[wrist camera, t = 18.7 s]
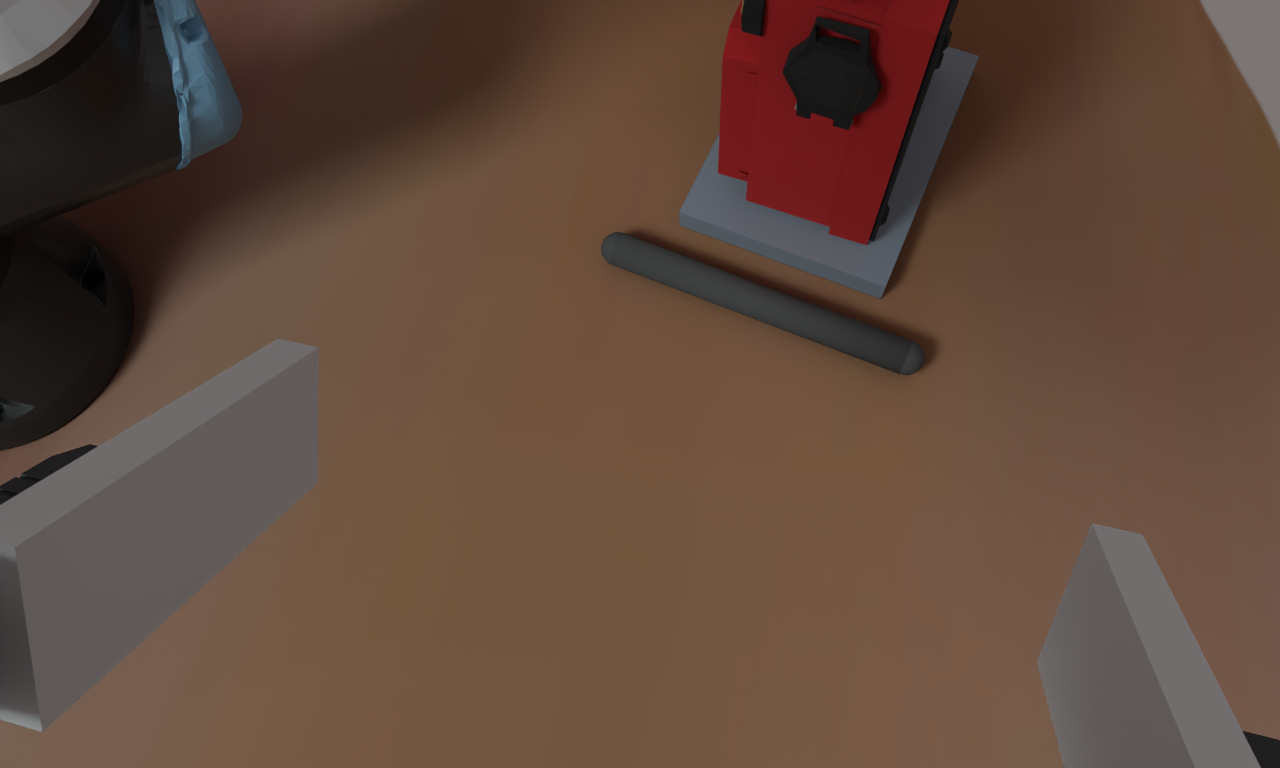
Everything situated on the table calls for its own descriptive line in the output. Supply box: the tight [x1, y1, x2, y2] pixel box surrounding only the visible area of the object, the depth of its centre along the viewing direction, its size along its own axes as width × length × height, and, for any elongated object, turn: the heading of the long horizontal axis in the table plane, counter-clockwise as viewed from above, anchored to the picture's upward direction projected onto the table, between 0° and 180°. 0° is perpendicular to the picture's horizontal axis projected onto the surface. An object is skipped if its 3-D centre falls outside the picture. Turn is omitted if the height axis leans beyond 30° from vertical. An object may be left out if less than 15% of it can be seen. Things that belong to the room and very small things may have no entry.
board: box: [679, 46, 979, 299], centre depth 60 cm, size 13×18×2 cm
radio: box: [718, 0, 959, 245], centre depth 50 cm, size 16×10×20 cm, turn 158°
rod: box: [601, 232, 924, 375], centre depth 56 cm, size 20×2×2 cm, turn 65°
